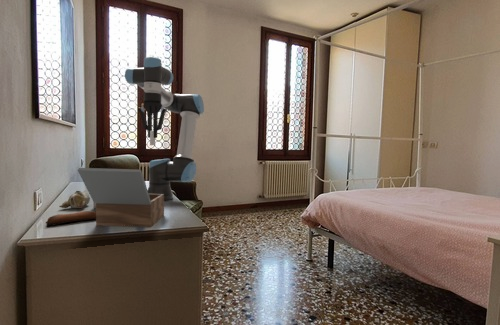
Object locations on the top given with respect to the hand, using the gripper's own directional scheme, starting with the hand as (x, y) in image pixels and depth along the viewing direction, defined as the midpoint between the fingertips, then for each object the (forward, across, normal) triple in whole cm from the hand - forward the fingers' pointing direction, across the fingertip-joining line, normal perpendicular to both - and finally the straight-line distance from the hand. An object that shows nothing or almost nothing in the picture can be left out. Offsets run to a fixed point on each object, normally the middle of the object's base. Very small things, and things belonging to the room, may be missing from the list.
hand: (152, 145), depth 138 cm
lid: (+15, -5, -25) cm, 30 cm away
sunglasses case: (+33, -29, -15) cm, 46 cm away
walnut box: (+32, -5, -11) cm, 34 cm away
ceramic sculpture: (+33, -40, +9) cm, 53 cm away
